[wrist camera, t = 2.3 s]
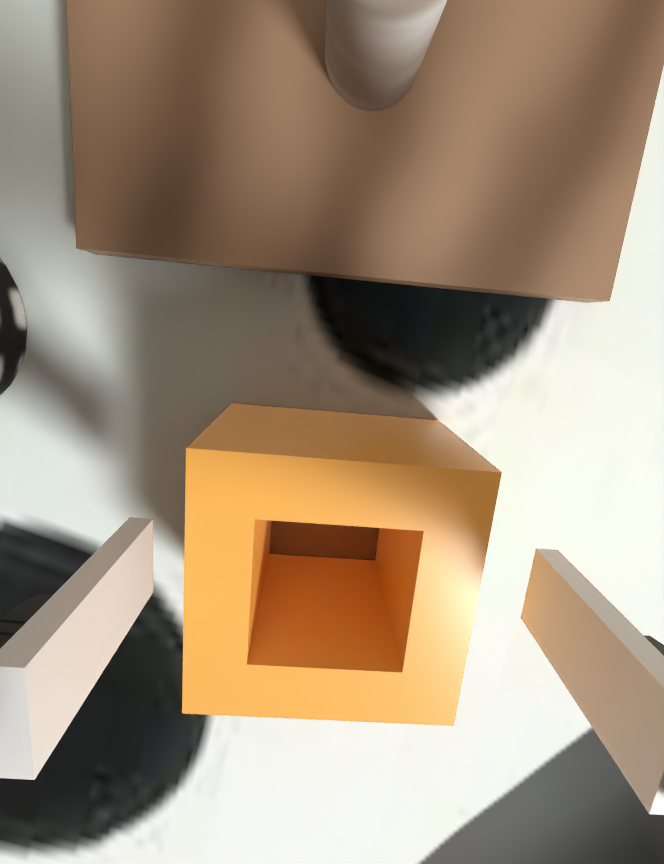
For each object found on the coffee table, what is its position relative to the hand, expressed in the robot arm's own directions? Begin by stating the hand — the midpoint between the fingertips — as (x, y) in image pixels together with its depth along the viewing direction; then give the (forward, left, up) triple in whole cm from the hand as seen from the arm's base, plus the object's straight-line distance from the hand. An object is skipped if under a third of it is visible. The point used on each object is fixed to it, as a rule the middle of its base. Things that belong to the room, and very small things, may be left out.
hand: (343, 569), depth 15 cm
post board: (0, +17, -5) cm, 18 cm away
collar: (0, 0, -5) cm, 5 cm away
